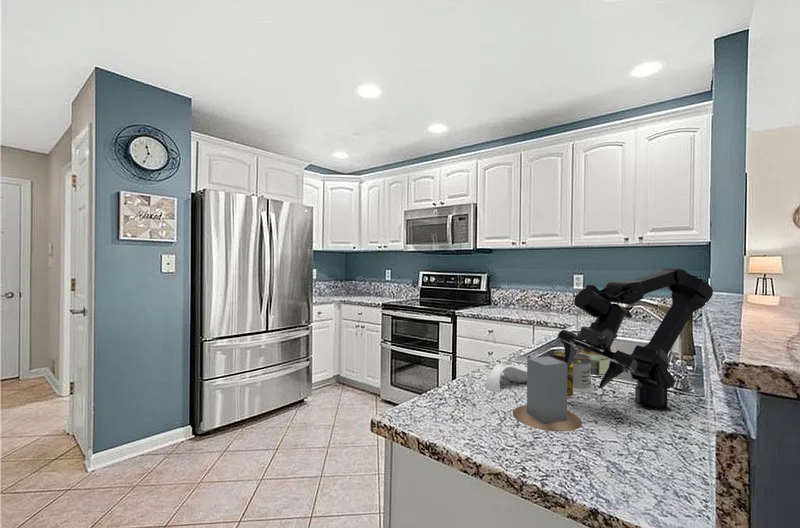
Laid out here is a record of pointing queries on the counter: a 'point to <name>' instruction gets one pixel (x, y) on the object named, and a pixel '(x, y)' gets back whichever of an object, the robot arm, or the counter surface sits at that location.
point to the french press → (581, 369)
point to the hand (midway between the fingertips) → (581, 379)
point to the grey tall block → (547, 389)
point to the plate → (569, 425)
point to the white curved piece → (510, 372)
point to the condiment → (569, 373)
